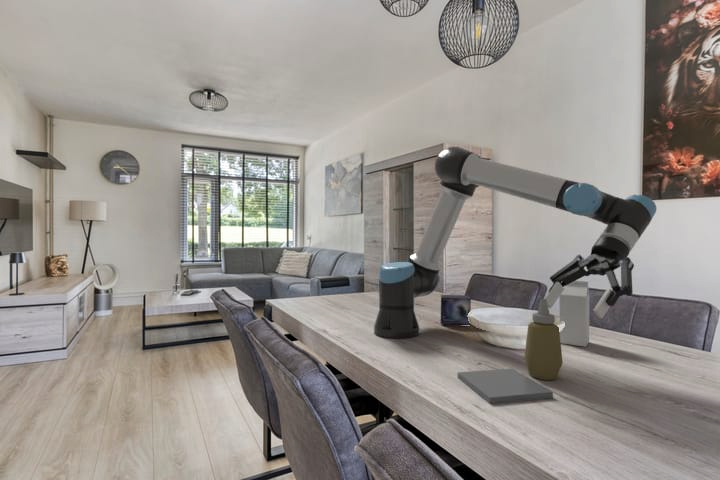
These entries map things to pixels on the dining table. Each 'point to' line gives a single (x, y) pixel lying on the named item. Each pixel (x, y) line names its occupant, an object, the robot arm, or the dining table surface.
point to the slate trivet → (504, 385)
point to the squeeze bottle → (543, 345)
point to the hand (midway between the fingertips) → (570, 309)
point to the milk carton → (575, 313)
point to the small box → (455, 309)
